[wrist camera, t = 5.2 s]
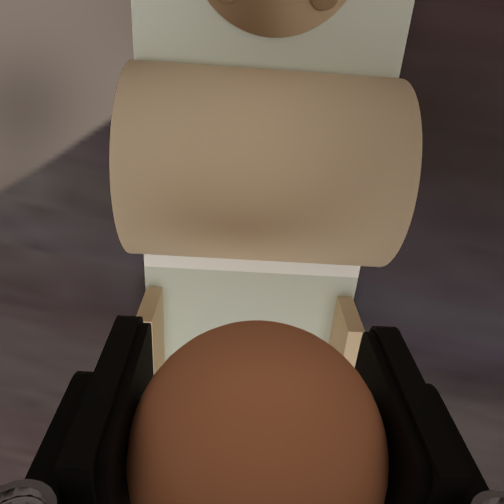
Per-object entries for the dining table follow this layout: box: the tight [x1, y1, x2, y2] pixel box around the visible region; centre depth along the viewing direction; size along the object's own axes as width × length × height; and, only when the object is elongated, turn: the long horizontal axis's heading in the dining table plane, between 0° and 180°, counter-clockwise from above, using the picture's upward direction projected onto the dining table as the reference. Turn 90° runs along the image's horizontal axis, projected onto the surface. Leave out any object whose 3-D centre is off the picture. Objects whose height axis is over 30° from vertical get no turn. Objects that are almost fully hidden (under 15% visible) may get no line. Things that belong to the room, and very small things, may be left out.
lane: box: [109, 0, 422, 374], centre depth 22 cm, size 11×36×8 cm, turn 176°
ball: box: [126, 320, 389, 504], centre depth 9 cm, size 5×5×5 cm
